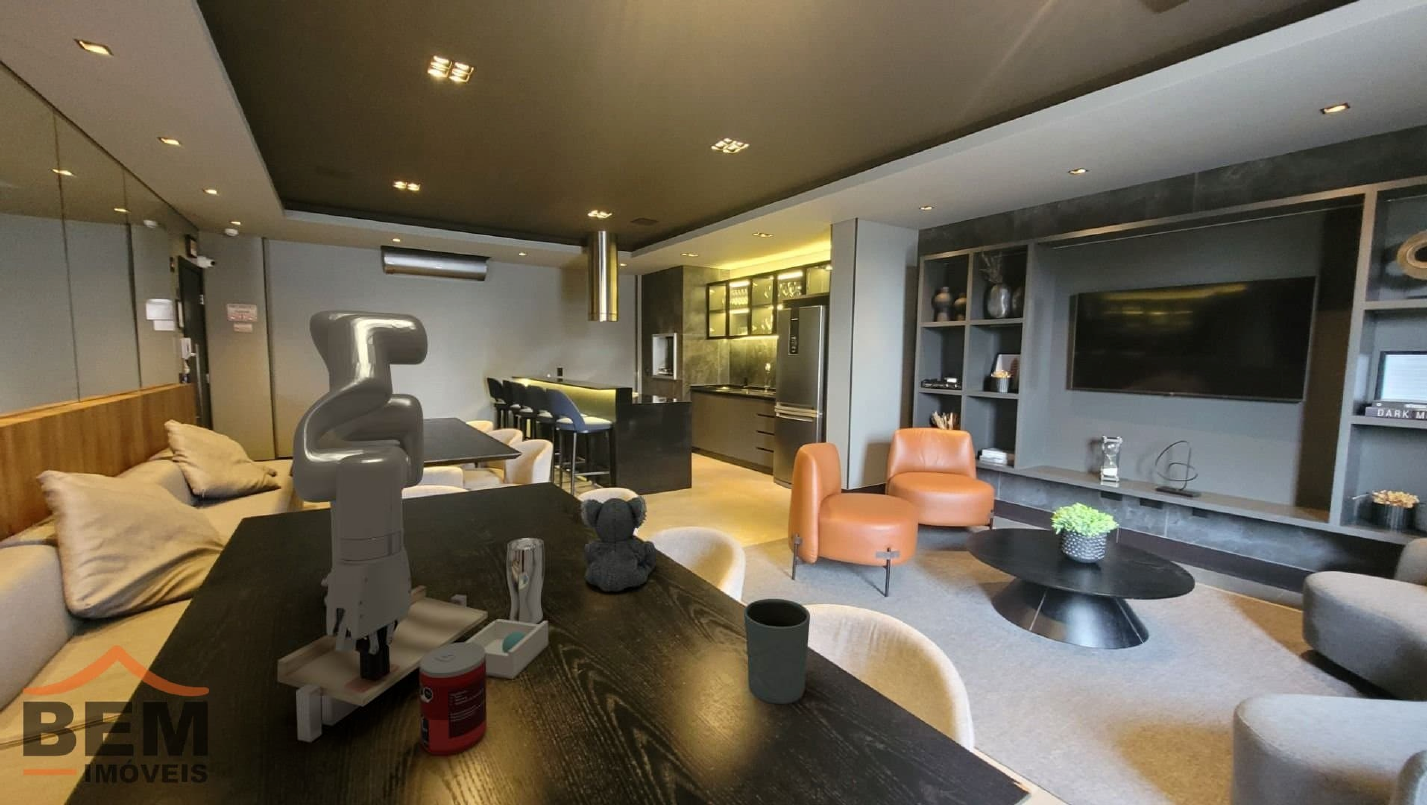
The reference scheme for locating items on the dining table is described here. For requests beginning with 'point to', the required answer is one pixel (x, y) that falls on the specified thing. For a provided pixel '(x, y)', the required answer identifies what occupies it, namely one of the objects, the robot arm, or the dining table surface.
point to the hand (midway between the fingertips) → (375, 675)
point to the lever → (411, 641)
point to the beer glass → (525, 579)
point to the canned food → (452, 697)
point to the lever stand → (327, 704)
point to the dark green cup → (776, 649)
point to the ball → (511, 641)
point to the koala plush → (617, 544)
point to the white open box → (519, 654)
